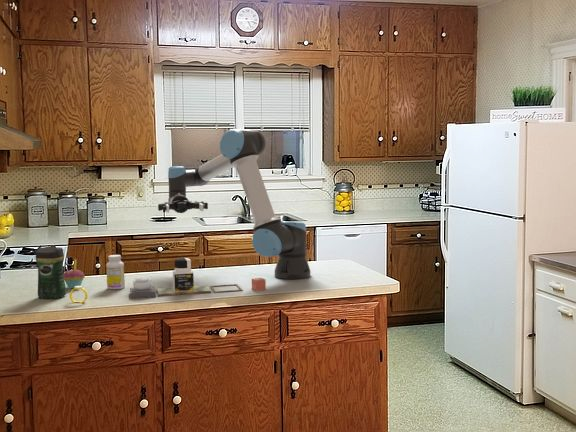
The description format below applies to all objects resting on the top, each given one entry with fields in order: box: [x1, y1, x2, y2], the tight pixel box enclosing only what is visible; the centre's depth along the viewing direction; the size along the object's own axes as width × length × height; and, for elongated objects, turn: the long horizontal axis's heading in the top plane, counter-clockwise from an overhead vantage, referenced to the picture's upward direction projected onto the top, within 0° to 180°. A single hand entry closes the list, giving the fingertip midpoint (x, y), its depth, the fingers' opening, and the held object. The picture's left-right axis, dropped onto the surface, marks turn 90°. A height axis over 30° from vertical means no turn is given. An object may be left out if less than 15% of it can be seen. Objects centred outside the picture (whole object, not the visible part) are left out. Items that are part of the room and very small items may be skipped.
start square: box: [209, 283, 243, 294], centre depth 256 cm, size 11×11×1 cm
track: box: [156, 285, 212, 297], centre depth 252 cm, size 20×10×1 cm, turn 105°
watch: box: [69, 285, 89, 304], centre depth 236 cm, size 6×3×6 cm, turn 88°
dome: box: [132, 277, 153, 290], centre depth 247 cm, size 7×7×3 cm
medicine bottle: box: [172, 257, 195, 292], centre depth 251 cm, size 7×7×12 cm
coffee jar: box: [35, 246, 67, 300], centre depth 245 cm, size 10×8×19 cm
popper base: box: [129, 286, 157, 300], centre depth 247 cm, size 9×9×2 cm
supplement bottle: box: [105, 254, 126, 291], centre depth 259 cm, size 7×7×13 cm
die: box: [251, 277, 267, 292], centre depth 255 cm, size 4×4×4 cm
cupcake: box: [63, 259, 86, 289], centre depth 260 cm, size 9×8×12 cm
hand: (185, 208), depth 266 cm, fingers open, 13 cm apart
